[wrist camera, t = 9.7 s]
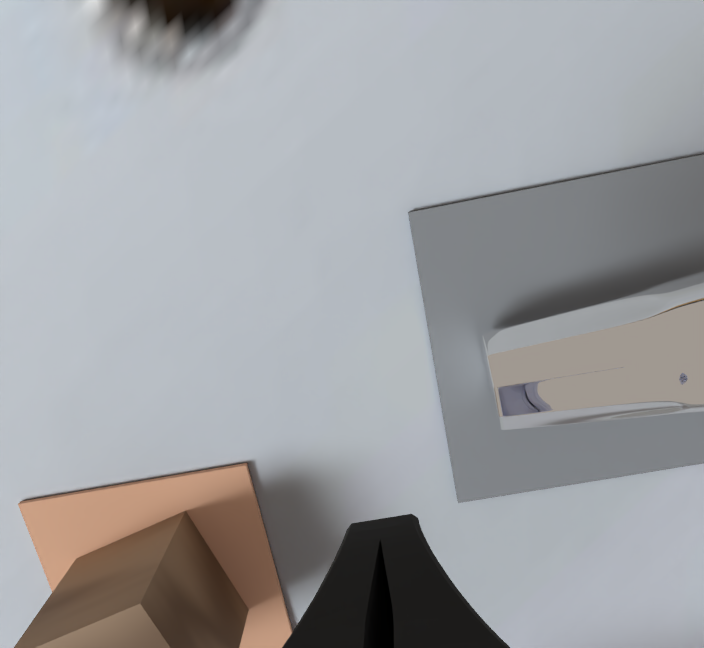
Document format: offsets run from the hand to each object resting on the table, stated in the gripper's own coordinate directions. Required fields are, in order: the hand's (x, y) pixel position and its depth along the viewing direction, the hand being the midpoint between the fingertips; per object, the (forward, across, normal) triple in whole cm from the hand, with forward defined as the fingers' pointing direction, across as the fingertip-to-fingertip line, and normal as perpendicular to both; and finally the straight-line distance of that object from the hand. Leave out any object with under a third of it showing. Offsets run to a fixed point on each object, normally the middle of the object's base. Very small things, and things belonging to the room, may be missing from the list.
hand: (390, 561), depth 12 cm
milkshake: (+9, -3, 0) cm, 9 cm away
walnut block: (+10, +10, +7) cm, 16 cm away
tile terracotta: (+10, +10, +7) cm, 16 cm away
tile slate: (+10, -7, 0) cm, 12 cm away
